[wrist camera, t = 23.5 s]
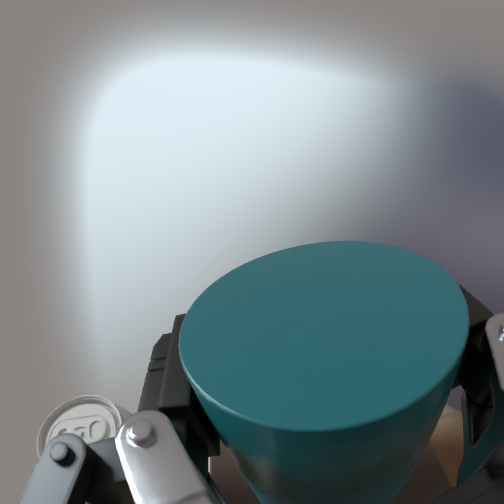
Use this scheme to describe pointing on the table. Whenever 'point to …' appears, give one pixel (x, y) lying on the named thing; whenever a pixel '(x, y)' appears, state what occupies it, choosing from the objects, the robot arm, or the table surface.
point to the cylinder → (326, 367)
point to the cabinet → (410, 500)
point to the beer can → (83, 420)
